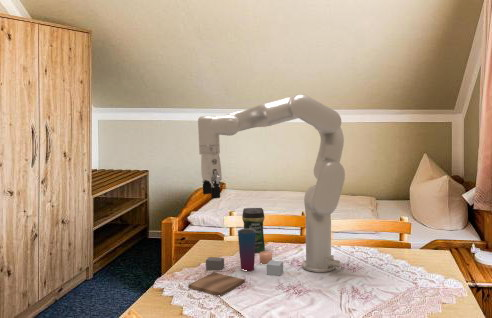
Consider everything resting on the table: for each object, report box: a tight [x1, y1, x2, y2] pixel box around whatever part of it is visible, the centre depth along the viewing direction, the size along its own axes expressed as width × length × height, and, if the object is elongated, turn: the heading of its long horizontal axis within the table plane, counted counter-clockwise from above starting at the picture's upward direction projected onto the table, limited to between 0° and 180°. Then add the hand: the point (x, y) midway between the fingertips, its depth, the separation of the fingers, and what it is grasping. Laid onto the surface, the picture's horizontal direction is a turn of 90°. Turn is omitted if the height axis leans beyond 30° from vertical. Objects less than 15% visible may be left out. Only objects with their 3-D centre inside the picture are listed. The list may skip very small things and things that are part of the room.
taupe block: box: [205, 256, 225, 271], centre depth 180 cm, size 6×4×4 cm, turn 75°
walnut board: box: [187, 271, 246, 297], centre depth 164 cm, size 14×14×1 cm
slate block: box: [266, 259, 284, 277], centre depth 175 cm, size 5×5×4 cm
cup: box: [237, 228, 256, 272], centre depth 179 cm, size 7×7×15 cm
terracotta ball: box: [258, 250, 273, 265], centre depth 186 cm, size 5×5×4 cm
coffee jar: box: [241, 207, 266, 253], centre depth 202 cm, size 10×8×19 cm
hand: (211, 195), depth 174 cm, fingers open, 9 cm apart
